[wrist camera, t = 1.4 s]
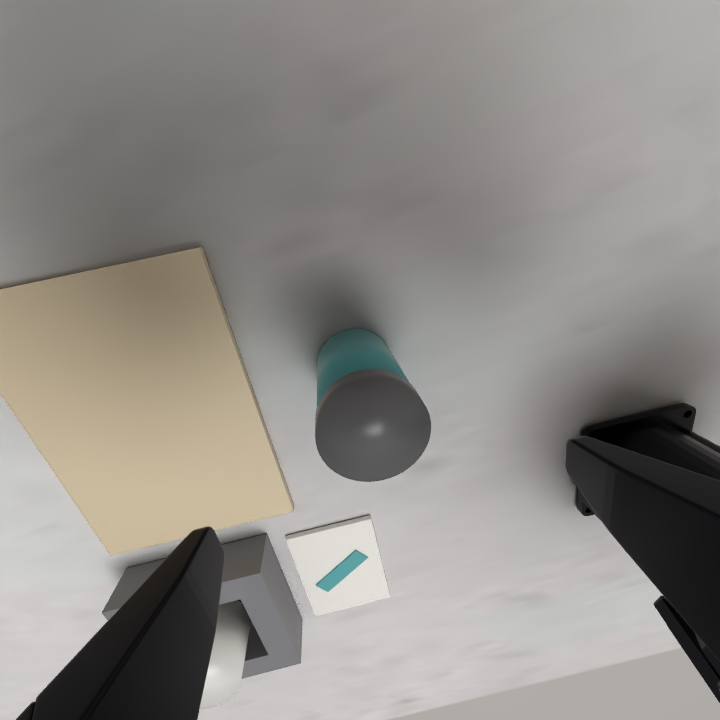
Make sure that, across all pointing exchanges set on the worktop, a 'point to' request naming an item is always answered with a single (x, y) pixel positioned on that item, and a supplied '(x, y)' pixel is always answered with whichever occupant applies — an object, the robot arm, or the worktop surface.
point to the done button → (227, 655)
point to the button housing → (244, 602)
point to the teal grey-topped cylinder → (367, 409)
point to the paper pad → (140, 400)
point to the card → (339, 565)
